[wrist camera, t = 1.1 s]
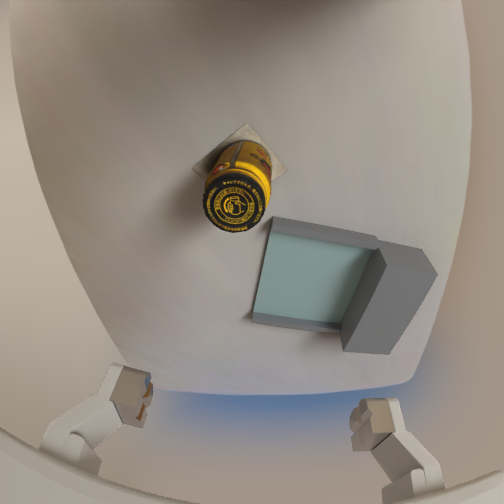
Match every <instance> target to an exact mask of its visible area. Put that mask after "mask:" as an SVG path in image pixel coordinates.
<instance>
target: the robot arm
mask: <svg viewBox="0 0 504 504" xmlns="http://www.w3.org/2000/svg"><path fill="white" fill-rule="evenodd" d="M150 380H151V374H150V372H146V371H142V370H138V369H134V368H130V367H127V366H124V365H120V364H116V363H112V364H111V365H110V366H109V368H108V371H107V373H106V375H105V377H104V379H103V382H102V384H101V386H100V388H99V391H98V393H97V395H96V396H94V395H92V396H91V397H89V398H87V399H86V400H85V401H83V402H81V403H80V404H78V405H77V406H75V407H74V408H72V409H70V410H69V411H67V412H66V413H64V414H63V415H61V416H59V417H58V418H56V419H55V420H53V421H51V422H50V424H49V426H48V428H47V431H46V433H45V435H44V437H43V440H42V442H41V445H40V447H39V449H37V448H35V447H33V446H31V445H29V444H27V443H26V442H24V441H22V440H20V439H19V438H17V437H15V436H14V435H12V434H10V433H9V432H7V431H6V430H4V429H2V428H1V427H0V504H199V503H193V502H188V501H183V500H177V499H173V498H168V497H164V496H160V495H156V494H152V493H148V492H145V491H141V490H138V489H134V488H131V487H128V486H125V485H122V484H119V483H116V482H113V481H109V480H107V479H104V478H101V477H99V476H98V472H99V469H100V465H101V459H100V458H99V457H98V456H97V454H96V453H95V452H94V451H93V449H94V448H95V447H96V446H97V445H98V444H100V443H101V442H102V441H103V440H104V439H106V438H107V437H108V436H109V435H111V434H112V433H113V432H114V431H115V430H117V429H118V428H119V427H120V426H121V425H122V423H124V424H128V425H132V426H136V427H139V428H143V426H144V423H145V420H146V416H147V413H146V408H147V407H148V406H149V405H150V404H151V400H152V396H153V384H152V383H151V382H150ZM350 429H351V430H352V431H353V432H354V434H353V436H352V437H351V440H352V448H353V451H371V453H372V454H373V456H374V457H375V459H376V460H377V461H378V463H379V464H380V466H381V467H382V468H383V470H384V471H385V473H386V474H387V476H388V477H389V478H390V480H391V481H392V483H391V484H389V485H387V486H385V487H384V488H383V489H382V500H383V504H504V472H503V471H502V470H496V471H493V472H491V473H488V474H486V475H483V476H481V477H478V478H476V479H473V480H470V481H467V482H465V483H462V484H459V485H456V486H453V487H450V488H447V489H445V487H444V482H443V477H442V472H441V468H440V464H439V463H438V461H437V460H435V458H434V457H433V456H432V455H431V454H430V453H429V452H428V451H427V450H426V449H425V448H424V447H423V446H422V445H421V444H420V442H419V441H417V439H416V438H415V437H414V436H413V435H412V434H411V433H410V432H409V431H406V429H405V425H404V421H403V417H402V413H401V409H400V405H399V401H398V399H397V398H368V399H367V398H366V399H362V400H361V401H360V402H359V406H358V407H356V408H354V410H353V411H352V413H351V416H350Z"/></svg>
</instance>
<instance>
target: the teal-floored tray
mask: <svg viewBox="0 0 504 504" xmlns="http://www.w3.org/2000/svg"><path fill="white" fill-rule="evenodd" d="M437 275H438V274H437V272H436V271H435V269H434V267H433V266H432V264H431V263H430V261H429V260H428V258H427V257H426V255H425V254H424V252H423V250H422V249H418V248H413V247H408V246H404V245H399V244H395V243H390V242H385V241H380V240H378V239H377V238H376V236H373V235H368V234H363V233H358V232H353V231H348V230H343V229H338V228H333V227H328V226H323V225H318V224H312V223H307V222H302V221H296V220H291V219H285V218H280V217H274V216H273V220H272V224H271V229H270V234H269V239H268V243H267V248H266V253H265V258H264V262H263V267H262V272H261V276H260V281H259V286H258V290H257V295H256V299H255V304H254V309H253V313H252V322H251V323H257V324H264V325H271V326H278V327H285V328H292V329H300V330H307V331H316V332H324V333H333V334H339V333H340V336H341V342H342V348H343V351H344V352H356V353H370V354H387V355H389V353H390V352H391V350H392V349H393V347H394V346H395V345H396V343H397V342H398V340H399V339H400V337H401V336H402V334H403V333H404V331H405V329H406V328H407V326H408V325H409V323H410V322H411V320H412V318H413V317H414V315H415V314H416V312H417V310H418V309H419V307H420V305H421V304H422V302H423V300H424V298H425V297H426V295H427V293H428V291H429V290H430V288H431V286H432V284H433V283H434V281H435V279H436V277H437Z"/></svg>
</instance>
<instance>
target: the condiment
mask: <svg viewBox="0 0 504 504" xmlns="http://www.w3.org/2000/svg"><path fill="white" fill-rule="evenodd" d="M193 169H194V170H195V171H196V172H197V173H198V174H199V175H200V176H201V177H202V178H203V179H204V180H205V181H206V184H205V193H204V195H203V208H204V210H205V214H206V216H207V217H208V219H209V220H210V221H211V222H212V223H213V224H214V225H215V226H216V227H218V228H219V229H221V230H224V231H228V232H232V233H235V232H242V231H247V230H249V229H251V228H252V227H254V226H255V225H256V224H257V223H259V221H260V220H261V217H262V216H263V215H264V211H265V208H266V207H267V205H268V203H269V200H270V195H271V182H272V181H273V180H274V179H276V178H277V177H279V176H280V175H282V174H283V173H284V172H286V171H287V170H286V168H285V167H284V166H283V165H282V164H281V162H280V161H279V160H278V158H277V157H276V156H275V155H274V154H273V152H272V151H271V150H270V149H269V147H268V146H267V145H266V144H265V143H264V142H263V140H262V139H261V138H260V137H259V136H258V134H257V133H256V132H255V131H254V130H253V129H252V128H251V127H250V125H249V124H248V123H246V124H245V125H244V126H242V127H241V128H240V129H239V130H237V131H236V132H235V133H233V134H232V135H231V136H230V137H229V138H227V139H226V140H225V141H224V142H222V143H221V144H220V145H219V146H218V147H216V148H215V149H214V150H213V151H212V152H210V153H209V154H208V155H207V156H206V157H204V158H203V159H202V160H201V161H200V162H199V163H198V164H196V165H195V166H194V167H193Z"/></svg>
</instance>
